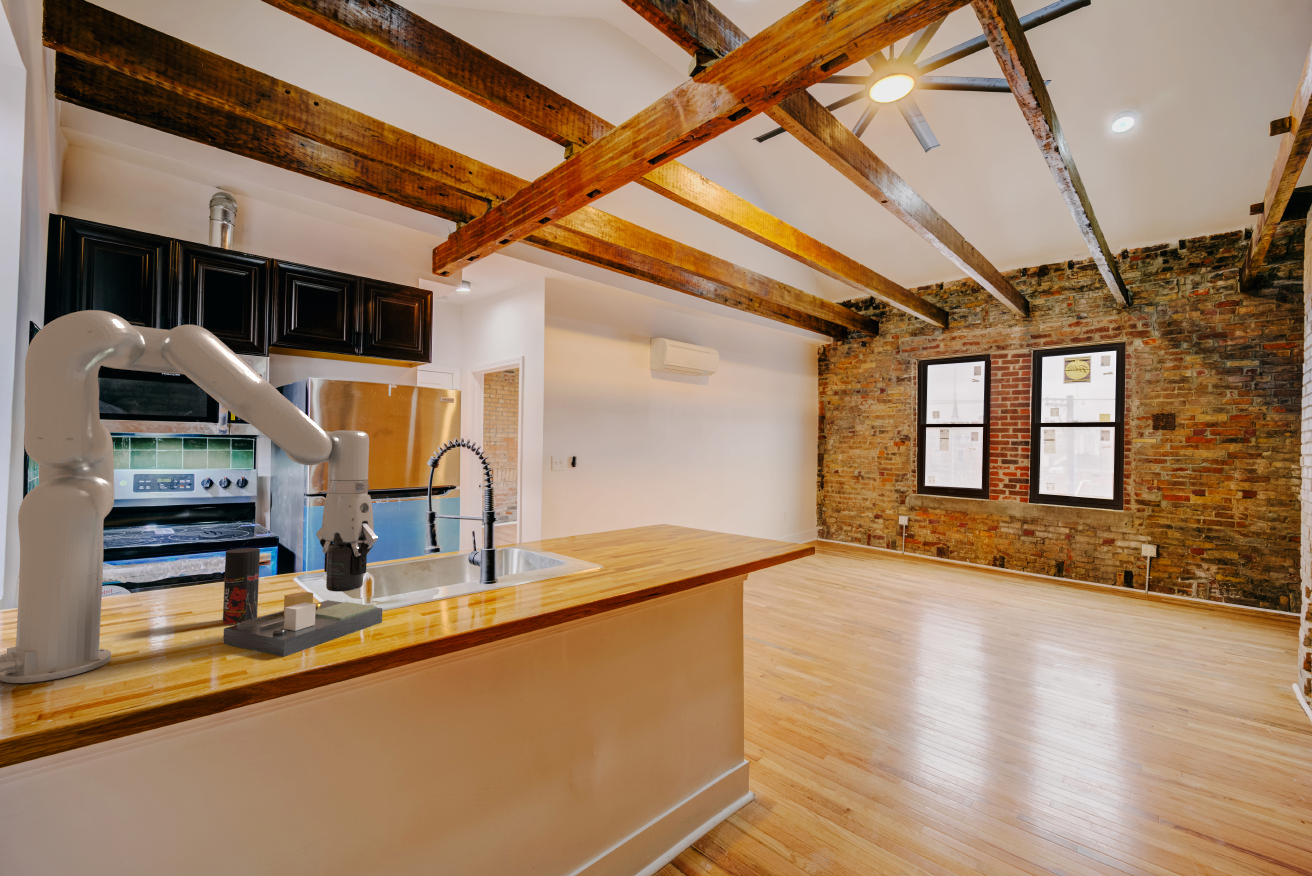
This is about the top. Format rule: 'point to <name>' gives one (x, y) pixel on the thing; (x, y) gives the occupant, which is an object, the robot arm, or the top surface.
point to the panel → (282, 642)
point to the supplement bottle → (341, 567)
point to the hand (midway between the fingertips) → (345, 571)
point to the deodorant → (241, 585)
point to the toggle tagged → (297, 599)
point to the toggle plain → (299, 616)
